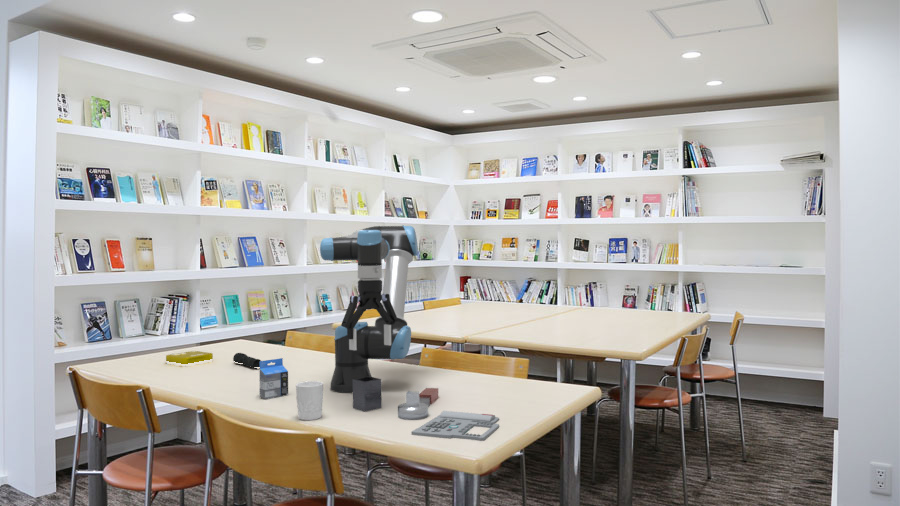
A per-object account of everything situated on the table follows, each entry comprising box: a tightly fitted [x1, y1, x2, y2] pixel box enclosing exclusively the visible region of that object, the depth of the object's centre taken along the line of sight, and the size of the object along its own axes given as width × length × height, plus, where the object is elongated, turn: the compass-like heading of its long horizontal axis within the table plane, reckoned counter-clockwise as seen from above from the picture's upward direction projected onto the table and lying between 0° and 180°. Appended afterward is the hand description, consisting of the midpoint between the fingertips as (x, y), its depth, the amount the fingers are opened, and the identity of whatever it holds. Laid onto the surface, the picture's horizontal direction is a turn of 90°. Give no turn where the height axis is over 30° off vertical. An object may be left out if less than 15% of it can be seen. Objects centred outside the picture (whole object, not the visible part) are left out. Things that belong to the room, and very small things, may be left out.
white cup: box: [295, 380, 324, 421], centre depth 189 cm, size 8×8×10 cm
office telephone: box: [410, 410, 500, 442], centre depth 177 cm, size 23×3×20 cm
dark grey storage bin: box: [352, 376, 383, 413], centre depth 199 cm, size 6×6×9 cm
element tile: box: [165, 350, 214, 364], centre depth 284 cm, size 15×15×5 cm
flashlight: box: [232, 352, 262, 369], centre depth 274 cm, size 5×21×5 cm, turn 40°
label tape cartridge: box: [259, 357, 289, 400], centre depth 217 cm, size 9×4×12 cm, turn 134°
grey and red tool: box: [397, 387, 439, 421], centre depth 199 cm, size 29×9×7 cm, turn 168°
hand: (370, 347), depth 199 cm, fingers open, 13 cm apart
